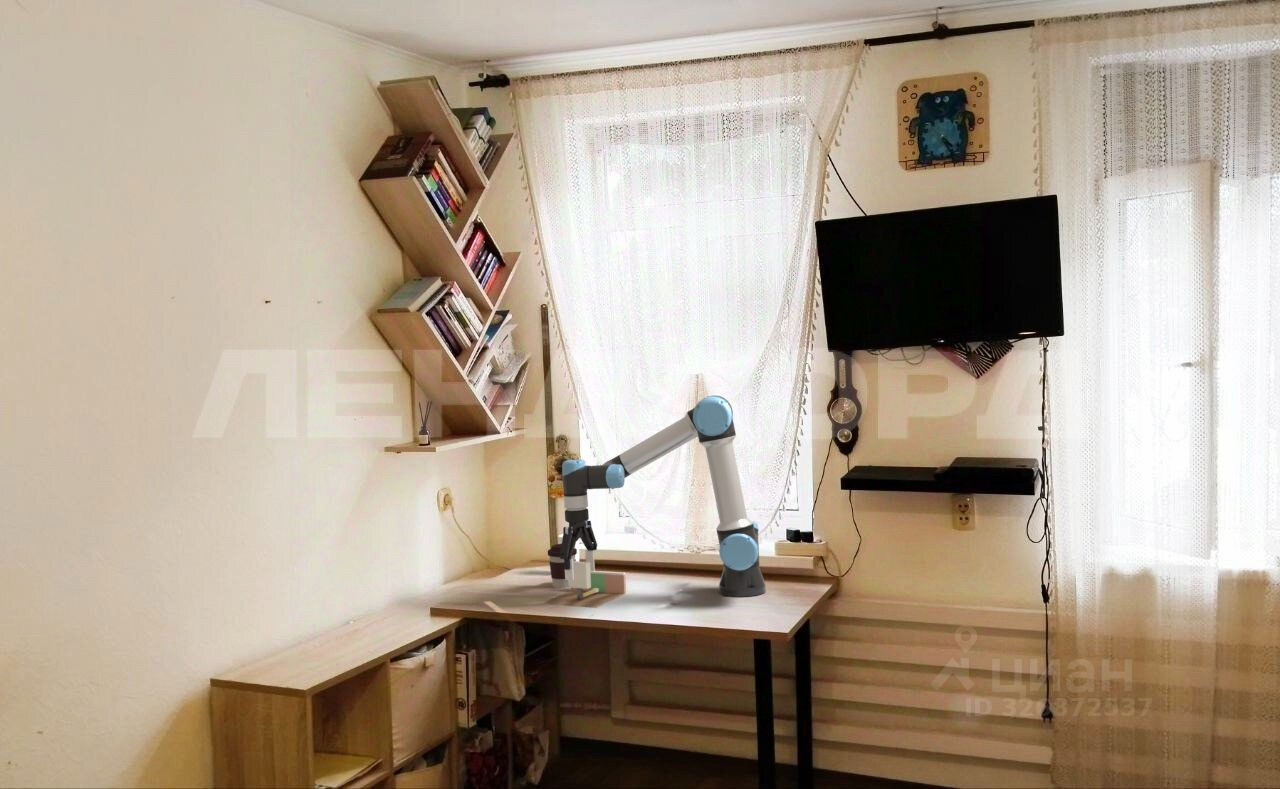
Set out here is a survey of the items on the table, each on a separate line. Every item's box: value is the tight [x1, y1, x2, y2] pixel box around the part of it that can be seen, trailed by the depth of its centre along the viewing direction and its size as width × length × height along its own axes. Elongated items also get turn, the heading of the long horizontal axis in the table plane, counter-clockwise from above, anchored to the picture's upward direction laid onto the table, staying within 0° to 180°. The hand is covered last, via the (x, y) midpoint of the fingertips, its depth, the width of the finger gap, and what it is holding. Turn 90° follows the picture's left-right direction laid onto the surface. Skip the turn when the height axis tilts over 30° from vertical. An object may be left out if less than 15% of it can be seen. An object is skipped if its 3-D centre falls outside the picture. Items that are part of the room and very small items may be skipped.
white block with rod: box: [568, 560, 599, 601], centre depth 326 cm, size 11×7×12 cm, turn 150°
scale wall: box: [570, 570, 627, 595], centre depth 334 cm, size 20×1×7 cm, turn 64°
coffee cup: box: [547, 543, 577, 589], centre depth 345 cm, size 10×10×15 cm
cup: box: [557, 533, 581, 561], centre depth 369 cm, size 8×8×14 cm
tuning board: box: [539, 589, 624, 609], centre depth 325 cm, size 20×21×1 cm
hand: (580, 575), depth 323 cm, fingers open, 13 cm apart
